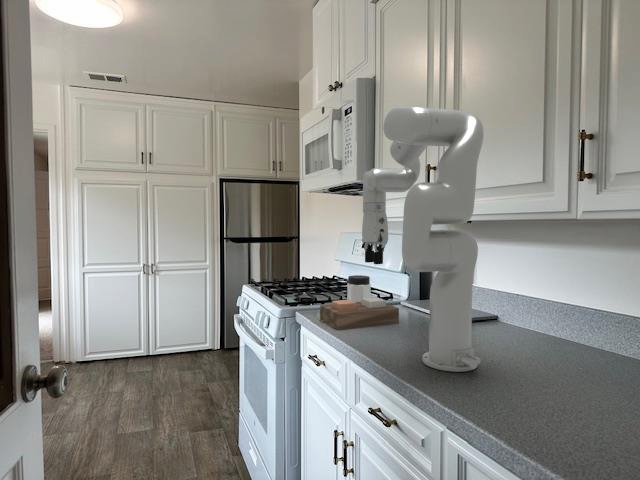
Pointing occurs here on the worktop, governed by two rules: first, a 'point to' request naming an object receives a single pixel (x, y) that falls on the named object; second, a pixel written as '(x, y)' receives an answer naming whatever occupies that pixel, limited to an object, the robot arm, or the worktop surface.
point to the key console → (359, 316)
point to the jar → (358, 288)
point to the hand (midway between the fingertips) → (373, 262)
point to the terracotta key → (344, 305)
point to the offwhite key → (373, 302)
